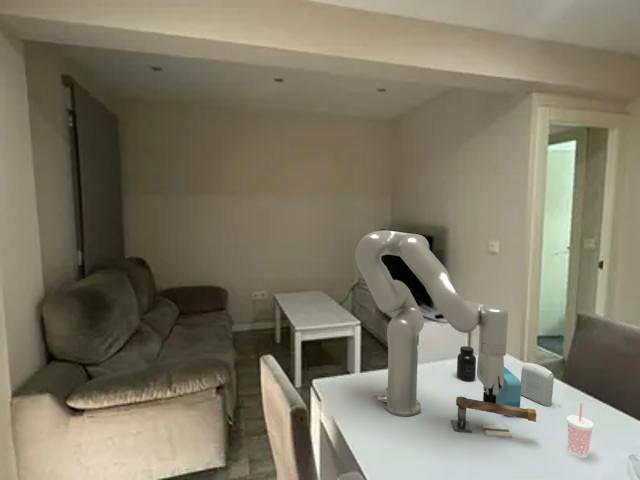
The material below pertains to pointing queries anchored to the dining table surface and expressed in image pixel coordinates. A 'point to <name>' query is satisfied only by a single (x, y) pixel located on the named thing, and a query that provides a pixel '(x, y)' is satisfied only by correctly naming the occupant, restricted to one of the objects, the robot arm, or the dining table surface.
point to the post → (461, 422)
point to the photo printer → (537, 383)
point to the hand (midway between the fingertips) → (489, 405)
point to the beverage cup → (579, 434)
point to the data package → (509, 390)
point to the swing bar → (496, 408)
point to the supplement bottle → (466, 364)
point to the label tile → (496, 431)
